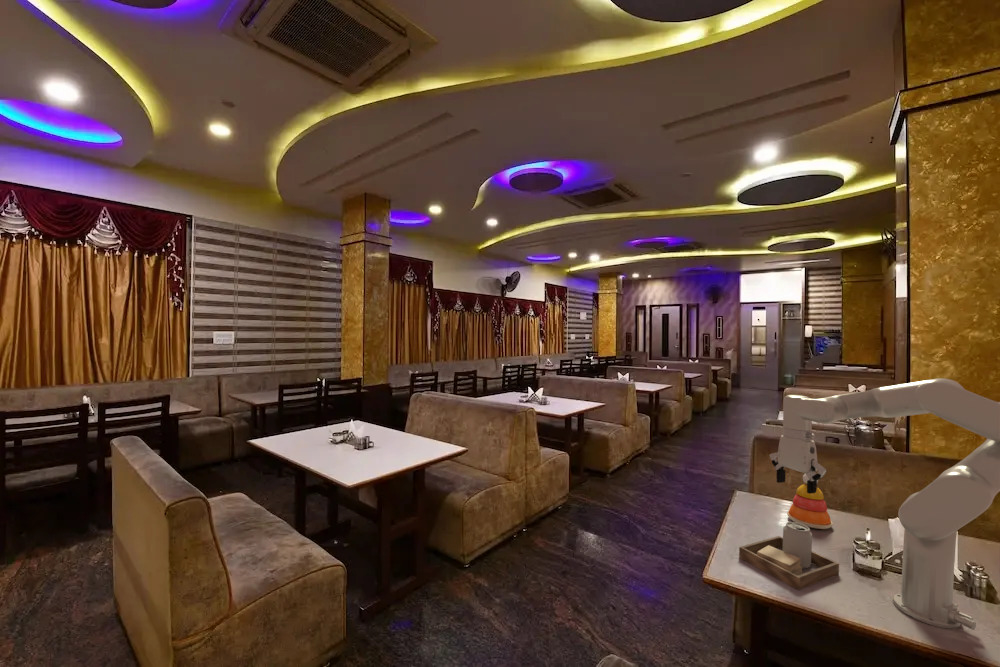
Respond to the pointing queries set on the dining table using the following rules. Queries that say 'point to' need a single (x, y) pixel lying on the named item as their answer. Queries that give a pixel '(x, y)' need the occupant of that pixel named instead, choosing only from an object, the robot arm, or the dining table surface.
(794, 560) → the offcut stack
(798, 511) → the stacking toy
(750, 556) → the wooden frame
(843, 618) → the dining table surface
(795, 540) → the can
